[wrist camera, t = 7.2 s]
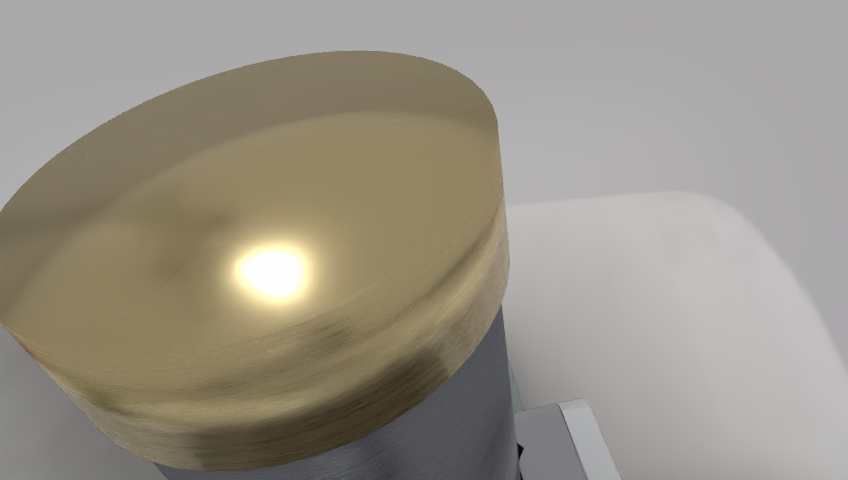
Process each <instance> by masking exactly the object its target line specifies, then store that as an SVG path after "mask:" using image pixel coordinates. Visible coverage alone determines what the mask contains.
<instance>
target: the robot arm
mask: <svg viewBox="0 0 848 480" xmlns="http://www.w3.org/2000/svg"><path fill="white" fill-rule="evenodd" d="M514 421H515V429H516V438H517V447H518V456H519V465H520V474H521V480H622V479H621V477H620V475H619V472H618V470H617V468H616V465H615V463H614V461H613V458H612V456H611V454H610V451H609V449H608V447H607V444H606V442H605V440H604V437H603V435H602V433H601V430H600V428H599V426H598V423H597V421H596V419H595V416H594V414H593V412H592V409H591V407H590V405H589V403H588V402H587V401H586V400H585V399H584V398H580V399H576V400H571V401H567V402H562V403H558V404H556V403H555V404H551V405H547V406H542V407H538V408H534V409H530V410H525V411H521V412H517V413H514Z"/></svg>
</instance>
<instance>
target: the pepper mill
mask: <svg viewBox="0 0 848 480" xmlns="http://www.w3.org/2000/svg"><path fill="white" fill-rule="evenodd" d="M509 267H510V257H509V242H508V231H507V220H506V209H505V199H504V188H503V177H502V166H501V155H500V145H499V134H498V123H497V118H496V115H495V112H494V109H493V106H492V104H491V102H490V101H489V99H488V98H487V96H486V95H485V94H484V92H483V91H482V90H481V89H480V88H479V87H478V86H477V85H476V84H475V83H474V82H473V81H472V80H470V79H469V78H467V77H466V76H464V75H463V74H461V73H460V72H458V71H456V70H454V69H452V68H450V67H447V66H445V65H443V64H441V63H437V62H434V61H431V60H428V59H424V58H421V57H416V56H411V55H405V54H398V53H390V52H380V51H336V52H323V53H313V54H305V55H298V56H291V57H285V58H280V59H275V60H269V61H265V62H260V63H256V64H252V65H248V66H244V67H240V68H237V69H233V70H229V71H226V72H222V73H219V74H216V75H213V76H210V77H207V78H204V79H201V80H198V81H195V82H192V83H190V84H187V85H184V86H182V87H179V88H176V89H174V90H171V91H169V92H167V93H164V94H162V95H160V96H157V97H155V98H153V99H151V100H148V101H146V102H144V103H142V104H140V105H138V106H136V107H134V108H132V109H130V110H128V111H126V112H124V113H122V114H120V115H118V116H116V117H115V118H113V119H111V120H109V121H108V122H106V123H104V124H102V125H100V126H99V127H97V128H96V129H94V130H92V131H91V132H89V133H88V134H86V135H84V136H83V137H81V138H80V139H78V140H77V141H76V142H74V143H73V144H71V145H70V146H68V147H67V148H66V149H64V150H63V151H61V152H60V153H59V154H57V155H56V156H55V157H54V158H52V159H51V160H50V161H49V162H48V163H46V164H45V165H44V166H43V167H42V168H40V169H39V170H38V171H37V172H36V173H35V174H34V175H33V176H32V177H31V178H30V179H29V180H28V181H27V182H26V183H25V184H24V185H22V186H21V188H19V190H18V191H17V192H16V193H15V194H14V196H13V197H12V198H11V199H10V200H9V202H8V203H7V204H6V205H5V206H4V208H3V209H2V211H1V212H0V323H1V324H2V325H3V326H4V327H5V328H6V329H7V330H8V332H9V333H10V334H11V335H12V336H13V337H14V338H15V339H16V340H17V341H18V342H19V343H20V345H21V346H22V347H23V348H24V349H25V350H26V351H27V352H28V353H29V354H30V355H31V356H32V358H33V359H34V360H35V361H36V362H37V363H38V364H39V365H40V366H41V367H42V368H43V369H44V371H45V372H46V373H47V374H48V375H49V376H50V377H51V378H52V379H53V380H54V381H55V383H56V384H57V385H58V386H59V387H60V388H61V389H62V390H63V391H64V392H65V393H66V394H67V396H68V397H69V398H70V399H71V400H72V401H73V402H74V403H75V404H76V405H77V406H78V407H79V409H80V410H81V411H82V412H83V413H84V414H85V415H86V416H87V417H88V418H89V419H90V420H91V422H92V423H93V424H94V425H95V426H96V427H97V428H98V429H99V430H100V431H101V432H102V433H103V434H104V435H106V436H107V437H108V438H109V439H111V440H112V441H113V442H114V443H116V444H117V445H118V446H119V447H121V448H123V449H125V450H127V451H129V452H131V453H133V454H135V455H137V456H139V457H141V458H143V459H145V460H149V461H152V462H153V463H154V464H155V465H156V466H157V467H158V468H159V469H160V471H161V472H162V473H163V474H164V475H165V476H166V477H167V479H168V480H521V474H520V465H519V456H518V447H517V438H516V429H515V421H514V412H513V403H512V394H511V385H510V376H509V367H508V358H507V350H506V341H505V332H504V323H503V314H502V305H501V302H502V299H503V296H504V293H505V290H506V287H507V282H508V274H509Z"/></svg>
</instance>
